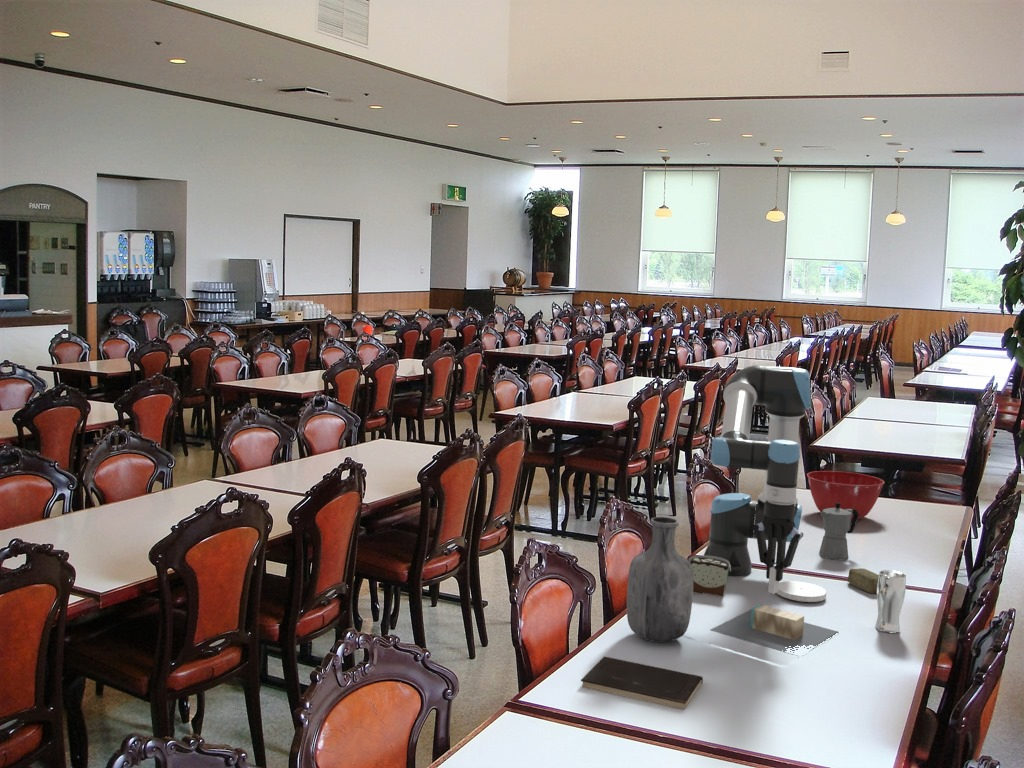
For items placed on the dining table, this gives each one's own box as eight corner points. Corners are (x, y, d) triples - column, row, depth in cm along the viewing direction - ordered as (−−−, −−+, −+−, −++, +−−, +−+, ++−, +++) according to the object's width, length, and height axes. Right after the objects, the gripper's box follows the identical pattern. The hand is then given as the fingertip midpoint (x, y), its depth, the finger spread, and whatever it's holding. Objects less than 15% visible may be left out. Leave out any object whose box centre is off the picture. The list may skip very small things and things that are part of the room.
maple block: (751, 608, 262) (796, 620, 254) (760, 604, 266) (804, 616, 258) (750, 627, 262) (794, 640, 255) (759, 622, 266) (802, 635, 259)
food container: (733, 593, 292) (736, 559, 291) (728, 599, 286) (731, 564, 285) (691, 585, 297) (693, 552, 296) (685, 591, 291) (688, 557, 290)
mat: (709, 631, 259) (709, 629, 259) (752, 610, 278) (753, 608, 278) (798, 658, 244) (798, 656, 244) (838, 633, 263) (838, 631, 263)
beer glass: (888, 635, 263) (893, 579, 261) (867, 626, 269) (872, 571, 267) (907, 632, 266) (912, 576, 264) (886, 623, 272) (891, 568, 270)
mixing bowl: (792, 507, 406) (795, 468, 404) (860, 508, 409) (864, 470, 408) (821, 525, 378) (824, 484, 376) (894, 526, 381) (898, 486, 380)
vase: (674, 655, 242) (682, 532, 239) (613, 640, 250) (620, 520, 247) (699, 636, 256) (707, 519, 252) (641, 622, 264) (648, 508, 261)
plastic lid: (765, 591, 296) (765, 583, 296) (804, 587, 301) (804, 579, 301) (796, 607, 283) (797, 598, 283) (836, 603, 289) (837, 594, 288)
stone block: (871, 595, 296) (872, 578, 296) (845, 583, 307) (846, 567, 307) (887, 594, 298) (888, 577, 298) (861, 582, 309) (862, 566, 309)
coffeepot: (827, 561, 329) (831, 507, 327) (808, 553, 338) (812, 500, 336) (864, 558, 335) (869, 504, 333) (844, 550, 344) (849, 498, 342)
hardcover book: (684, 712, 212) (685, 702, 212) (580, 689, 221) (581, 679, 221) (702, 685, 227) (703, 675, 226) (604, 664, 236) (604, 655, 236)
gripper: (749, 499, 259) (743, 589, 262) (798, 508, 251) (790, 601, 254) (763, 494, 265) (756, 583, 268) (810, 504, 257) (803, 595, 259)
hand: (773, 592), depth 261 cm, fingers closed
